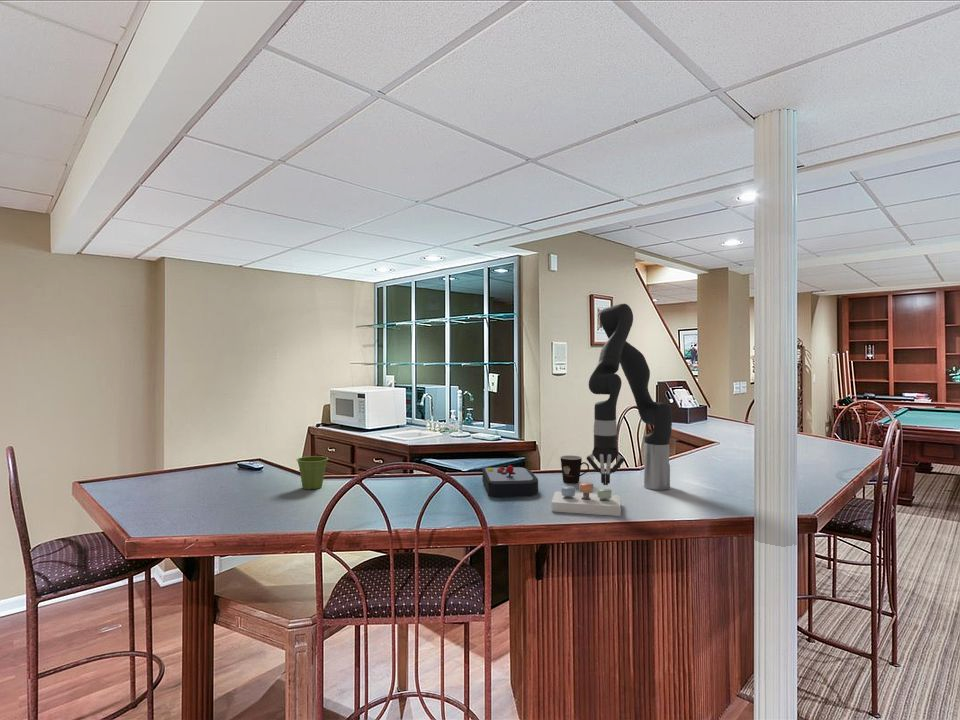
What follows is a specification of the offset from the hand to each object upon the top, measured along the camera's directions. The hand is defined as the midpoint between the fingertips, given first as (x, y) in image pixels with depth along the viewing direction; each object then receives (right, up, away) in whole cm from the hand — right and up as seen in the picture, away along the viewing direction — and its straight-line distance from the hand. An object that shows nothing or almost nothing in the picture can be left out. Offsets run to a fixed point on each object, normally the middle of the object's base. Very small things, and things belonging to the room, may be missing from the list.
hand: (605, 484), depth 176 cm
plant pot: (-107, -8, +28) cm, 111 cm away
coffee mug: (-4, -8, +36) cm, 37 cm away
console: (-6, -8, +1) cm, 10 cm away
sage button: (0, -7, 0) cm, 7 cm away
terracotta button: (-6, -6, +1) cm, 9 cm away
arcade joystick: (-30, -8, +28) cm, 42 cm away
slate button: (-12, -7, +3) cm, 14 cm away
